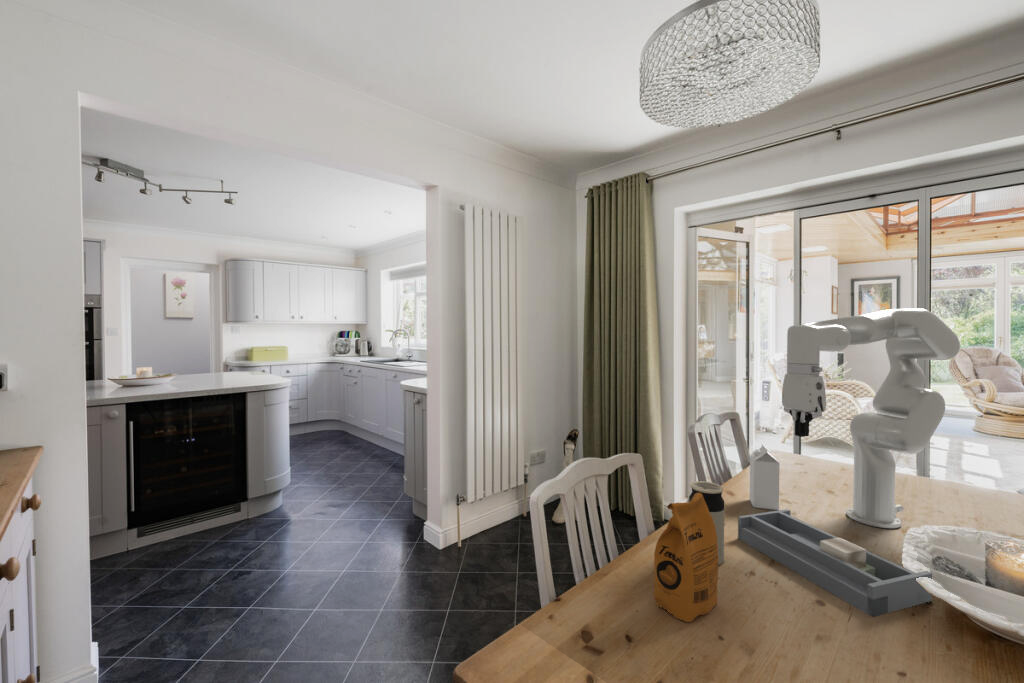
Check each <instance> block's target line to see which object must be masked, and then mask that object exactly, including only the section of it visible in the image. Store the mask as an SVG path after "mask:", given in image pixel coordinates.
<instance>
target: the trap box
mask: <svg viewBox="0 0 1024 683" xmlns="http://www.w3.org/2000/svg"><path fill="white" fill-rule="evenodd" d="M737 517H738V518H737V519H738V520H737V539H738V540H740V541H742V543H745V544H747V545H748V546H750V547H752V548H753V549H754V550H755V549H756V550H757V551H758V552H760V553H762V554H763V555H765V556H767V557H769V558H771V560H772V559H773V560H774V561H776V562H777V563H779V564H781V565H783V566H784V567H786V568H788V569H789V570H791V571H793V572H794V573H796V574H798V575H799V576H801V577H803V578H805V579H807V580H808V581H810V582H811V583H813V584H815V585H817V586H819V587H820V588H822V589H824V590H825V591H827V592H828V593H830V594H832V595H834V596H835V597H838V598H839V599H840V600H842V601H844V602H846V603H848V604H849V605H851V606H853V607H854V608H856V609H857V610H860V611H861V612H863V613H864V614H866V615H868V616H870V617H871V618H874V617H877V616H880V615H882V616H883V615H886V614H890V613H892V612H893V613H894V612H897V611H900V609H901V610H904V608H905V609H909V608H912V606H913V607H916V606H915V605H917V606H919V604H921V603H924V604H926V603H925V602H928V603H930V602H929V601H932V600H933V599H932V596H933V594H932V595H931V594H930V593H928V592H927V591H926V590H925V589H924V588H923V587H922V586H921V585H920V584H919V583H918V582H917V581H916V578H919V577H928V578H931V579H932V580H933V573H932V572H930V571H928V570H923V571H919V572H916V571H913V570H910V569H909V568H907V567H904V566H901V565H899V564H897V563H895V562H892V561H891V560H889V559H886V558H884V557H882V556H879V555H877V554H875V553H873V552H870V551H869V550H867V549H866V567H865V568H860V569H859V568H857V567H855V566H853V565H851V564H849V563H847V562H845V561H843V560H841V559H839V558H837V557H835V556H833V555H831V554H829V553H827V552H825V551H823V550H821V549H820V541H822V540H827V539H833V538H839V537H838V536H836V535H834V534H831V533H829V532H827V531H825V530H823V529H820V528H818V527H816V526H813V525H812V524H809V523H807V522H805V521H803V520H800V519H798V518H796V517H794V516H792V515H791V510H790V509H788V508H785V509H779V510H773V511H766V512H759V513H753V514H745V515H740V516H737ZM921 605H922V604H921ZM908 607H909V608H908ZM896 610H897V611H896Z"/></svg>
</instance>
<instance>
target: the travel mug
mask: <svg viewBox="0 0 1024 683" xmlns="http://www.w3.org/2000/svg"><path fill="white" fill-rule="evenodd" d="M689 486H690V488H691V493H690V495H689V497H688V502H690V501H691V499H692V497H693V496H694V494H696V493H701V494H702V495H703V498H704V500H705V502H706V505H707V507H708V510H709V512H710V514H711V516H712V519H713V522H714V524H715V527H716V534H717V543H718V566H719V565H722V564H723V563H724V562H725V500H724V498H723V496H722V494H723V491H724V487H723V486H721V485H720V484H718V483H714V482H710V481H705V480H703V481H701V480H700V481H692V482H691V483H690V485H689Z"/></svg>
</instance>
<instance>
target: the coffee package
mask: <svg viewBox="0 0 1024 683" xmlns="http://www.w3.org/2000/svg"><path fill="white" fill-rule="evenodd" d="M666 507H667V509H668V510H671V514H672V516H671V517H670V518H669V521H668V522H667V525H666V526H667V527H666V529H665V530H663V531H662V533H661V535H660V536H659V538H658V539H657V542H656V544H655V549H654V553H653V554H654V556H653V557H654V579H653V580H654V581H653V582H654V583H653V599H654V601H655V604H656V605H657V604H658V605H659V606H661V607H660V608H662V607H663V608H662V609H664V610H665V609H666V610H667V611H669V612H670V613H669V614H671V615H672V616H673V618H675V619H677V618H678V619H677V620H680V621H681V620H683V621H682V622H684V621H685V622H684V623H686V622H690V623H692V622H693V621H694V620H695V619H696V618H697V617H698V616H704V615H705V614H706V615H709V612H710V613H711V611H712V610H713V609H714V608H715V606H717V605H718V579H719V578H718V577H719V565H718V543H717V534H716V527H715V524H714V522H713V519H712V516H711V514H710V512H709V510H708V507H707V505H706V502H705V500H704V498H703V495H702V494H701V493H696V494H694V496H693V497H692V499H691V501H690V502H689V501H688V502H674V503H673V502H670V503H669V504H668V505H667V506H666ZM658 605H657V606H658ZM659 606H658V607H659ZM666 610H665V611H666ZM667 611H666V612H667Z"/></svg>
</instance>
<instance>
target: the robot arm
mask: <svg viewBox="0 0 1024 683" xmlns="http://www.w3.org/2000/svg"><path fill="white" fill-rule="evenodd" d="M786 336H787V338H786V348H787V349H786V373H785V375H784V378H783V381H782V382H783V383H782V392H781V393H782V394H781V403H782V406H783V411H784V412H785V413H788V414H790V416H791V417H792V421H794V435H795V436H796V437H800V438H801V437H803V438H804V437H809V435H810V423H812V422H813V420H814V419H816V418H817V419H819V418H822V417H823V412H826V409H827V395H826V387H825V381H824V378H823V376H822V375H820V373H822V372H823V370H824V369H823V367H822V366H820V362H821V361H820V360H821V359H820V356H821V355H820V352H840V351H842V350H845V349H846V348H847V347H849V346H856V345H867V344H871V343H872V344H873V343H876V342H881V341H884V340H885V350H886V354H887V357H888V360H889V372H888V374H887V375H886V377H885V379H884V381H883V382H882V384H881V385H880V387H879V389H878V391H877V392H876V393H875V396H874V397H873V400H872V407H873V409H874V411H876V413H875V412H861V413H858V414H856V415H855V416H853V417H852V419H851V421H850V424H849V425H850V426H849V428H850V435H851V439H852V440H851V441H852V446H853V483H852V484H853V487H852V488H853V489H852V490H853V491H852V492H853V493H852V494H853V495H852V507H850V508H847V509H846V515H847V516H848V517H849V518H850V519H851V520H853V521H855V522H858V523H861V524H863V525H867V526H871V527H876V528H882V529H897V528H900V527H902V520H901V518H899V517H897V515H896V514H897V513H900V512H903V511H904V509H905V508H904V507H903V505H901V504H895V501H896V499H895V497H896V461H895V458H894V456H893V454H892V452H891V451H893V452H899V453H904V454H908V455H915V454H918V453H920V452H922V451H923V450H924V449H925V448H926V446H928V443H929V442H930V440H931V438H932V436H933V435H934V433H935V431H936V430H937V428H938V426H939V425H940V423H941V422H942V420H943V417H944V415H945V410H946V402H945V398H944V397H943V395H942V394H941V393H940V392H938V391H937V390H934V389H931V388H924V385H925V384H926V381H927V379H926V375H925V372H924V370H923V369H922V367H921V366H920V365H919V364H918V362H917V360H927V361H928V360H932V361H947V360H951V359H953V358H955V357H956V356H957V355H958V354H959V352H960V348H961V343H960V342H961V341H960V340H959V337H958V336H957V334H955V332H954V331H953V330H952V329H951V328H950V327H949V326H948V325H947V324H946V323H945V322H944V321H943V320H942V319H940V318H939V317H938V316H937V315H936V314H934V313H933V312H931V311H929V310H928V309H925V308H920V307H919V308H916V307H915V308H892V309H885V310H884V309H883V310H878V311H874V312H870V313H865V314H858V315H852V316H845V317H840V318H833V319H827V320H821V321H813V322H809V323H804V324H800V325H797V324H796V325H791V326H789V327H788V329H787V335H786ZM877 412H878V413H877Z"/></svg>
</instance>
